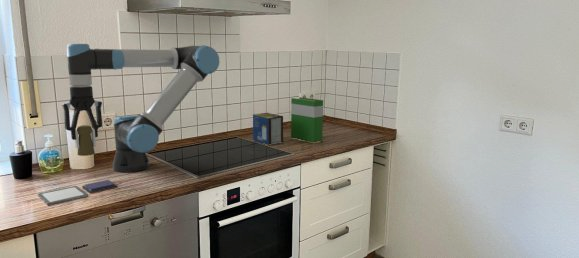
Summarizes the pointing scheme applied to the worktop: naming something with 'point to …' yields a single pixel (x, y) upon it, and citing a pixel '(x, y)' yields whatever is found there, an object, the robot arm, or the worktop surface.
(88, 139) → the olive tapered cylinder
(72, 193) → the marked mat
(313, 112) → the green canister
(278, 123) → the protein box
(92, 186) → the pad
